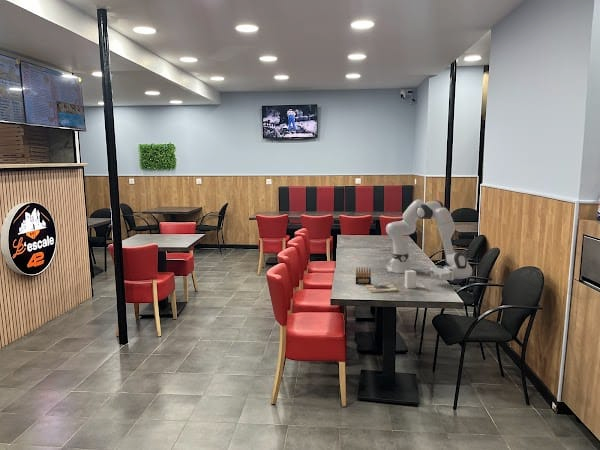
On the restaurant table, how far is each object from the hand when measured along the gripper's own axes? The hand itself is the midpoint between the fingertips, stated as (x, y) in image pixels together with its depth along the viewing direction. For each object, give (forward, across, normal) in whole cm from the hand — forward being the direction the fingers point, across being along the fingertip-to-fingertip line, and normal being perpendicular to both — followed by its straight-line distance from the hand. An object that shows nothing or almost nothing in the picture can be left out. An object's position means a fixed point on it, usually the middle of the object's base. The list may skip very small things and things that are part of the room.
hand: (428, 273), depth 300 cm
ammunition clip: (+41, -13, +8) cm, 44 cm away
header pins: (+32, +1, +7) cm, 33 cm away
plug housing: (+12, 0, +9) cm, 15 cm away
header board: (+32, +1, +8) cm, 33 cm away
